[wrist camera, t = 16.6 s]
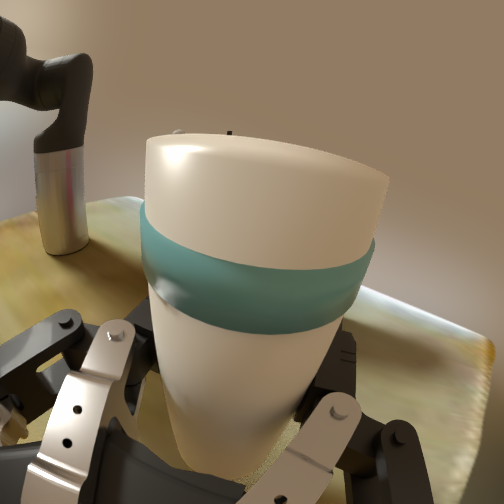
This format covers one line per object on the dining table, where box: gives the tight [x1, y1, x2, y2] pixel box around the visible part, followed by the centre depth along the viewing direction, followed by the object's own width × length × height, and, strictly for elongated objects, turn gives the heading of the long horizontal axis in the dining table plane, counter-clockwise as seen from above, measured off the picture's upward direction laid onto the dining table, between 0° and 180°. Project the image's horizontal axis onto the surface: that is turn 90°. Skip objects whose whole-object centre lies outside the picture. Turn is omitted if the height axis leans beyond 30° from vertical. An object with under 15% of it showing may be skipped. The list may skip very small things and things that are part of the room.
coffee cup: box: [140, 134, 390, 480], centre depth 9 cm, size 5×5×14 cm
